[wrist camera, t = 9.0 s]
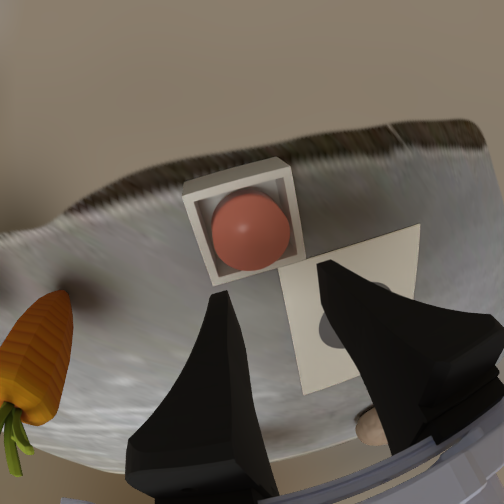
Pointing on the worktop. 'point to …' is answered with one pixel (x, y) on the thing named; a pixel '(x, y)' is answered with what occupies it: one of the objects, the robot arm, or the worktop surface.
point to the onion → (370, 429)
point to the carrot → (34, 371)
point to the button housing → (238, 178)
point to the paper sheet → (313, 316)
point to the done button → (249, 230)
